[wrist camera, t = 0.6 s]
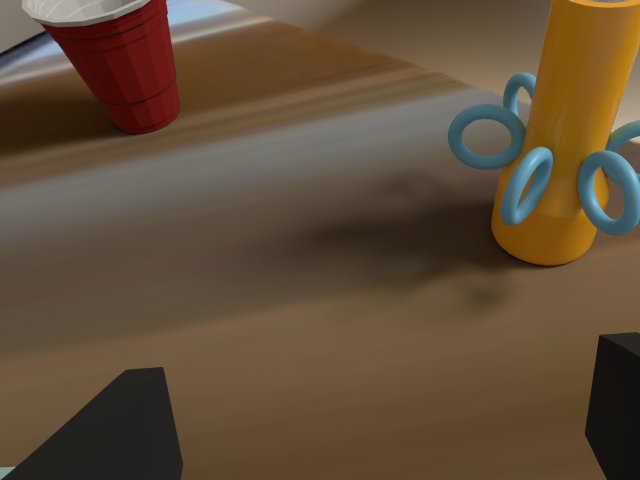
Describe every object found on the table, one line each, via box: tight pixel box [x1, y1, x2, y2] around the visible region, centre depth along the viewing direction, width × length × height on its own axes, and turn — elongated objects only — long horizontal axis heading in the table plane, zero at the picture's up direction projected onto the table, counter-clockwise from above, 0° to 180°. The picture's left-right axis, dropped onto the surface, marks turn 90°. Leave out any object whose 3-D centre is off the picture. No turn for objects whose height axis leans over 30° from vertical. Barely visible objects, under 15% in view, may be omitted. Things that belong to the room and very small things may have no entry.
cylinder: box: [448, 0, 640, 266], centre depth 28 cm, size 12×10×15 cm
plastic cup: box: [22, 0, 180, 134], centre depth 44 cm, size 11×11×12 cm
